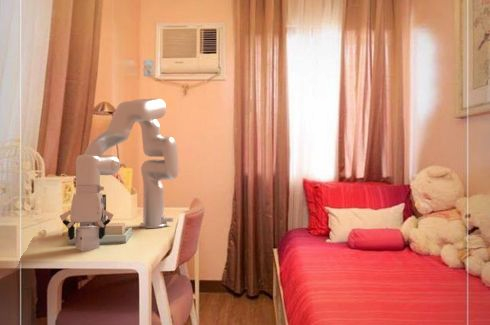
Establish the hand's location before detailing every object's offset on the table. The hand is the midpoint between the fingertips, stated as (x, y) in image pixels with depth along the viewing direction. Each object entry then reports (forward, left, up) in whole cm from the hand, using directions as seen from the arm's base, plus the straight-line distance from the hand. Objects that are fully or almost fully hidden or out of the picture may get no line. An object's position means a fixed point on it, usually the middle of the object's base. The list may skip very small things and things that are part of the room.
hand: (86, 238), depth 114 cm
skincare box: (0, 0, -4) cm, 4 cm away
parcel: (-7, -12, -3) cm, 15 cm away
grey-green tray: (-2, -12, -4) cm, 13 cm away
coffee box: (+5, -26, -4) cm, 27 cm away
